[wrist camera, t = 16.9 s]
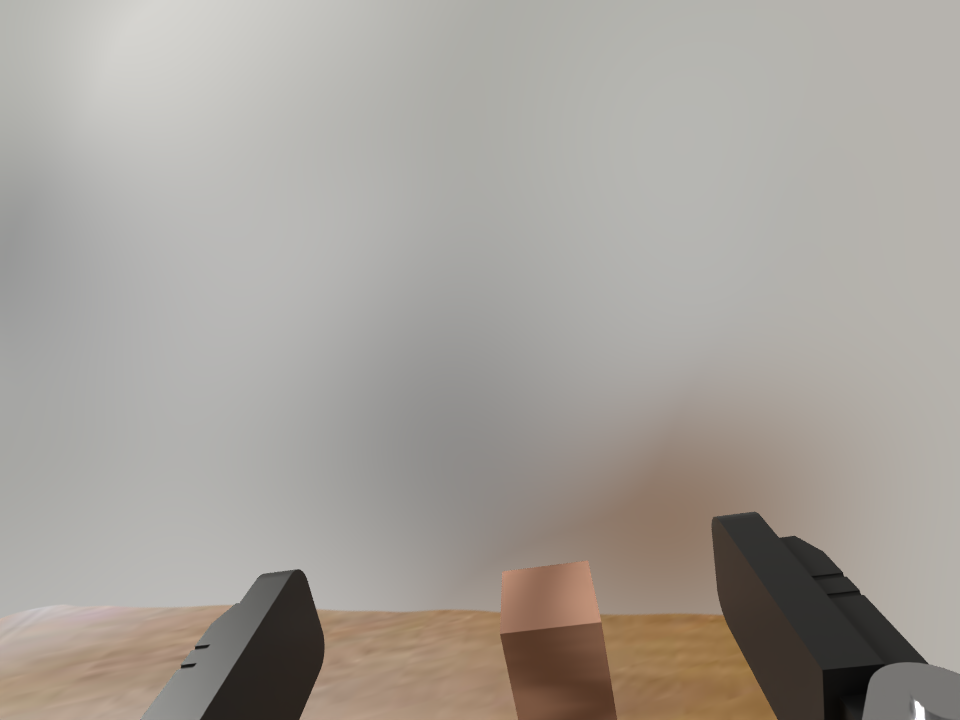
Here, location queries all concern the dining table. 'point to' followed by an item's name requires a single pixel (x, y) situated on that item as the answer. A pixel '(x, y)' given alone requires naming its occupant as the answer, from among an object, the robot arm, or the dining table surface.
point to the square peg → (555, 644)
